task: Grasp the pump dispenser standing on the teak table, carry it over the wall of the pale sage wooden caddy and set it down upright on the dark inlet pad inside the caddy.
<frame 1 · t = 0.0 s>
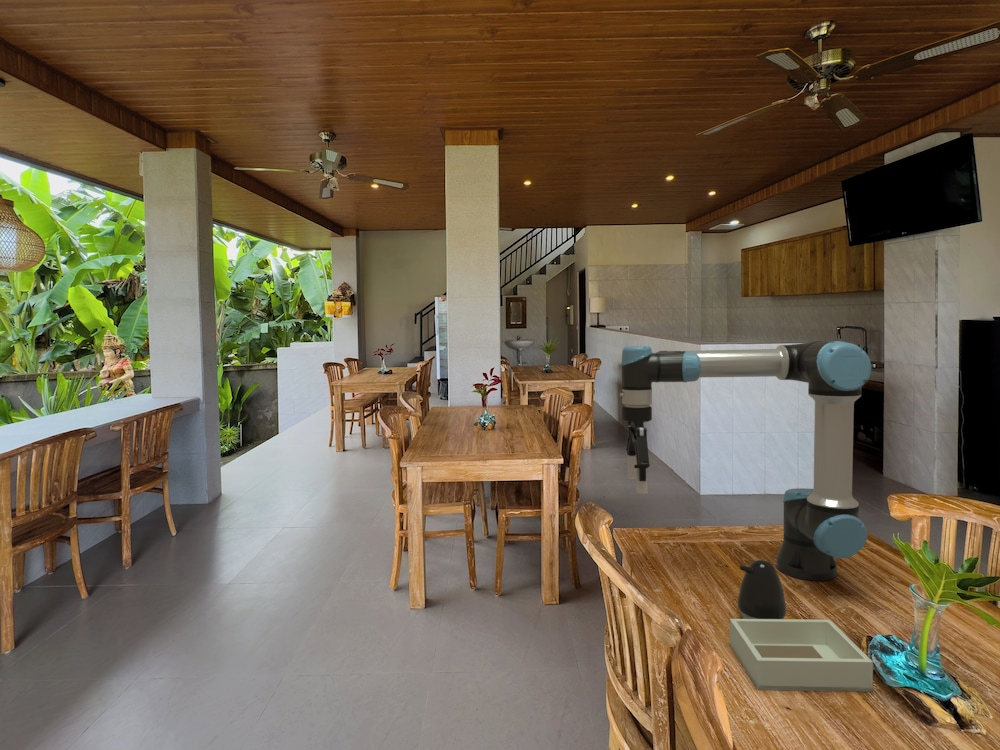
hand: (637, 486, 151), 28 cm above the table, fingers open, 13 cm apart
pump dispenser: (760, 625, 134), on the table
caddy: (795, 666, 117), on the table
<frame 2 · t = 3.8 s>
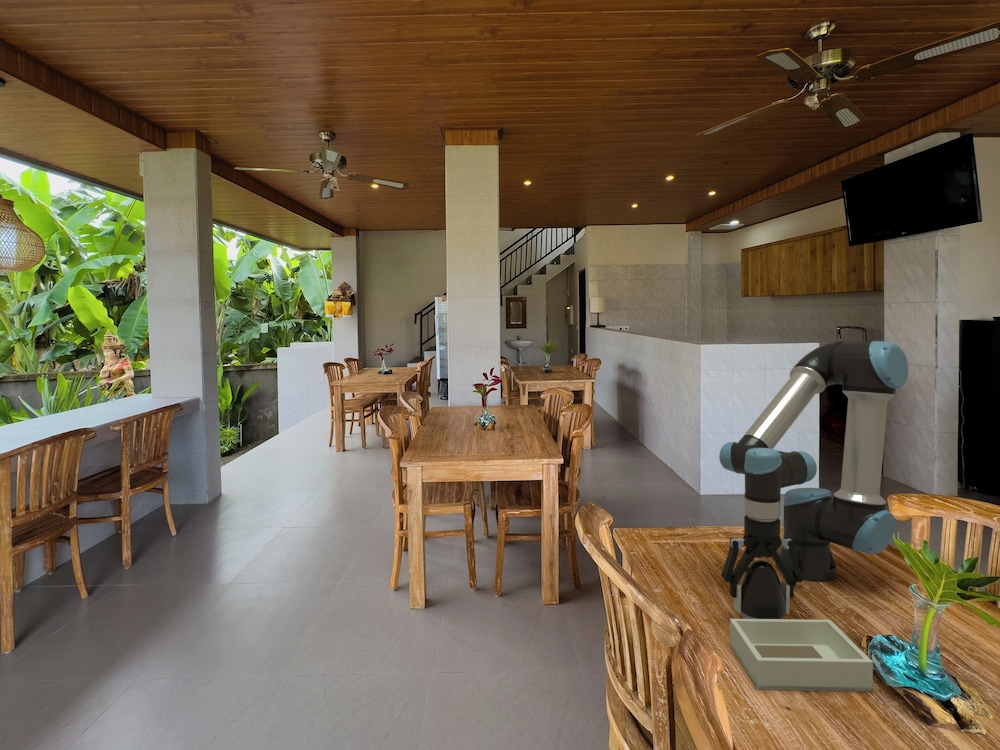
hand: (761, 610, 134), 3 cm above the table, fingers closed on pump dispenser, 10 cm apart
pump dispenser: (760, 625, 134), on the table, touching gripper
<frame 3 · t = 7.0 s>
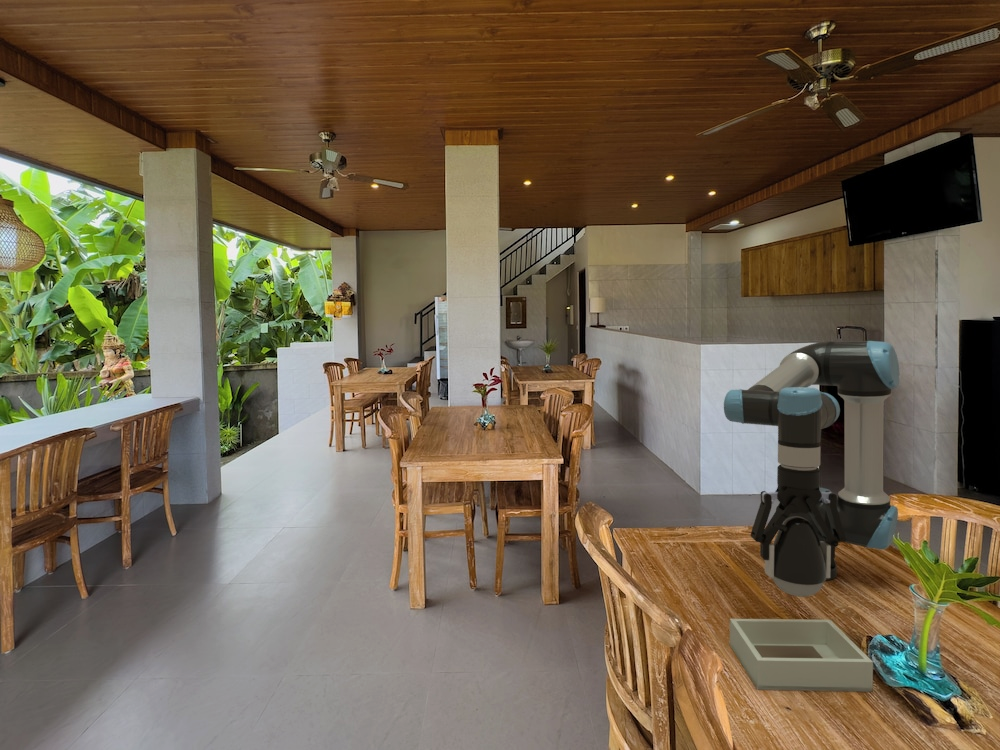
hand: (796, 575, 116), 19 cm above the table, fingers closed on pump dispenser, 10 cm apart
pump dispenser: (796, 592, 116), point 16 cm above the table, touching gripper
when the fingers open (6 cm above the table, at t = 10.3 s): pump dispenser drops 1 cm, resting on caddy.
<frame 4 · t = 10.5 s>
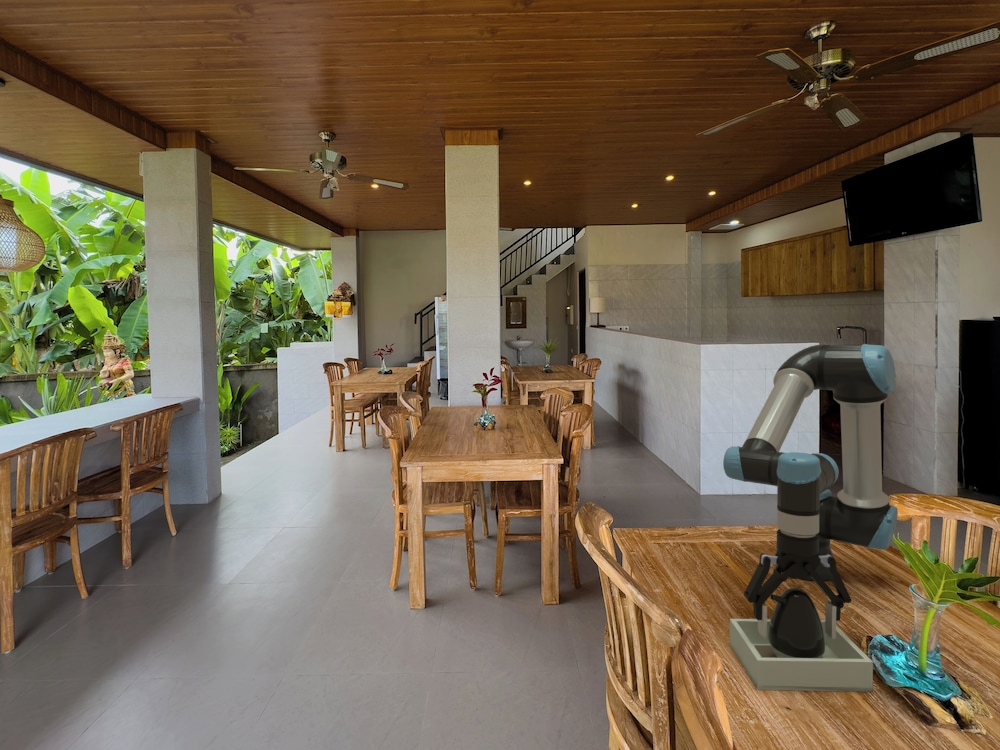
hand: (796, 635, 117), 7 cm above the table, fingers open, 13 cm apart
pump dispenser: (795, 661, 117), point 1 cm above the table, touching caddy
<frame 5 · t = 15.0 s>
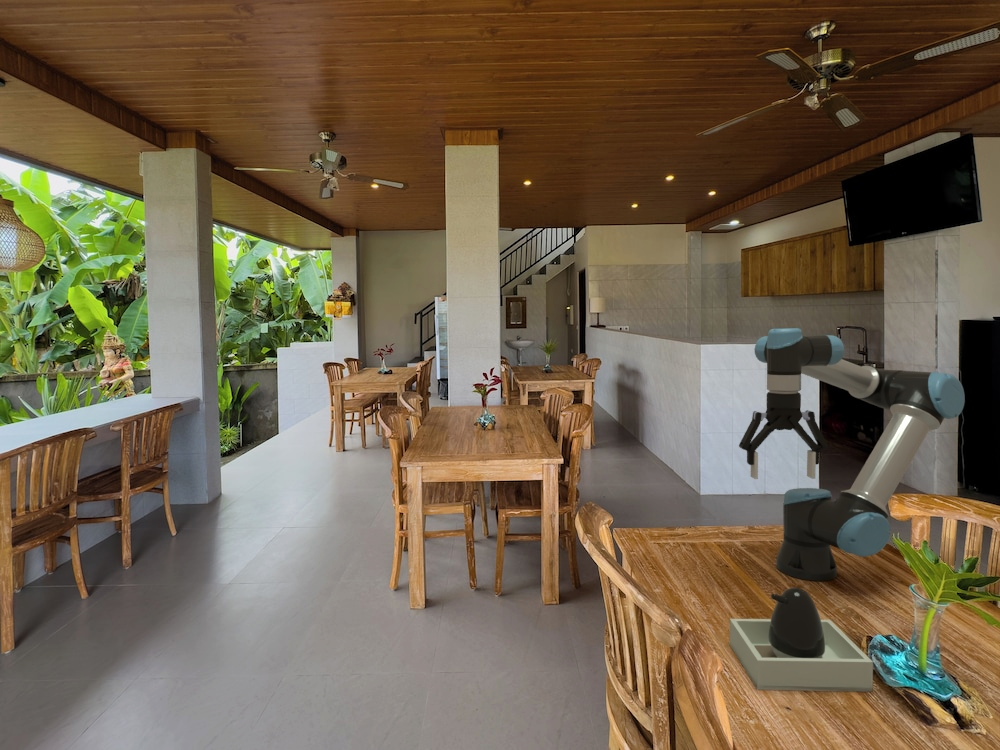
hand: (782, 477, 142), 32 cm above the table, fingers open, 13 cm apart
nothing on the table moved.
at the end: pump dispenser inside the target area on the caddy (0.1 cm from its centre), point 0.8 cm above the caddy's base; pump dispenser tilted 0°; the gripper is holding nothing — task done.
